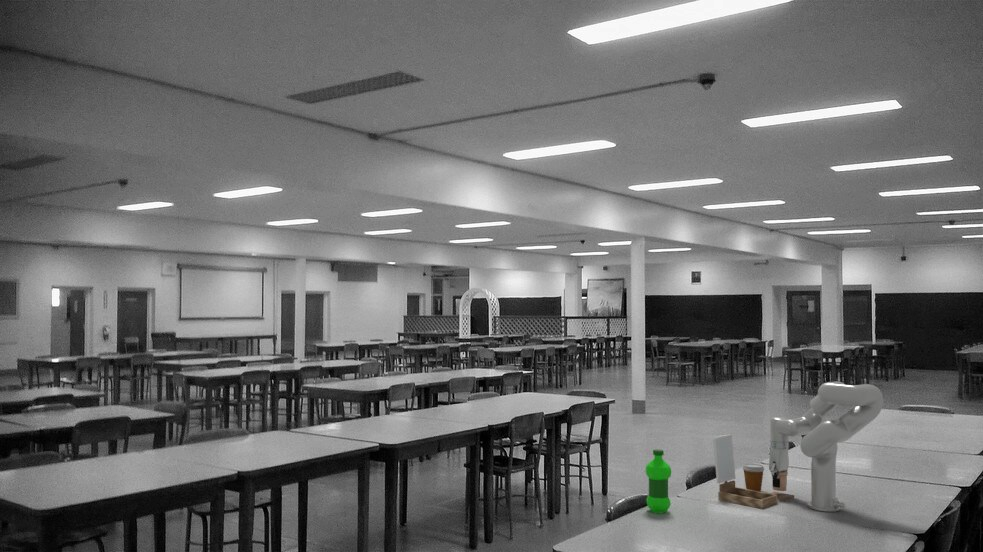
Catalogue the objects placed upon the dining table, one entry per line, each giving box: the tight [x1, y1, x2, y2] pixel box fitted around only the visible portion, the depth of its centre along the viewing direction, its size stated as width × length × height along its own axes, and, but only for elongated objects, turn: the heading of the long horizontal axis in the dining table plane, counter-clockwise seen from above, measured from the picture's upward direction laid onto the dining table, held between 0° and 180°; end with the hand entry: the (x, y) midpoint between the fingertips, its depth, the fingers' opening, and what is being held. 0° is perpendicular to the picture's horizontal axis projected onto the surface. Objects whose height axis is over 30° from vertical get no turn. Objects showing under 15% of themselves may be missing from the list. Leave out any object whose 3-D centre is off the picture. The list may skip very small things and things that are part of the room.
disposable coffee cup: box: [742, 463, 765, 492], centre depth 343 cm, size 10×10×12 cm
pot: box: [772, 469, 788, 492], centre depth 331 cm, size 7×7×8 cm
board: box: [769, 491, 795, 502], centre depth 331 cm, size 9×9×2 cm
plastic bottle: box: [645, 448, 672, 514], centre depth 308 cm, size 10×10×25 cm
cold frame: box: [717, 480, 778, 510], centre depth 324 cm, size 22×14×20 cm, turn 44°
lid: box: [712, 433, 736, 484], centre depth 331 cm, size 20×15×1 cm
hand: (779, 485), depth 331 cm, fingers closed on pot, 5 cm apart
